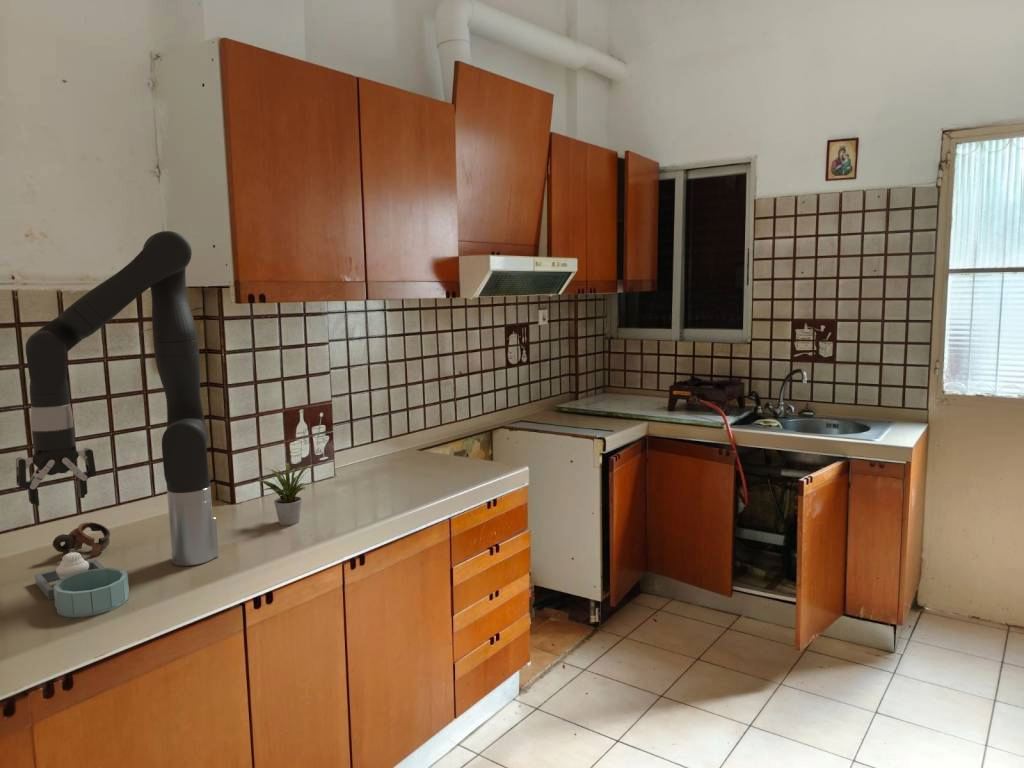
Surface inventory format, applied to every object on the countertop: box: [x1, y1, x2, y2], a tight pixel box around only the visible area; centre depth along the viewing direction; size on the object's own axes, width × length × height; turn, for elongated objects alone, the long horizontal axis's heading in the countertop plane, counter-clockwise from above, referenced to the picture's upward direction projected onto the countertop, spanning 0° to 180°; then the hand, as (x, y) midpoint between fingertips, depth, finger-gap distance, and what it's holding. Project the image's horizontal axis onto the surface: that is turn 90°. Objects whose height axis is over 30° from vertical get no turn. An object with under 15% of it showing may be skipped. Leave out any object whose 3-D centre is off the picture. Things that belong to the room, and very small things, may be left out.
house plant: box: [258, 462, 314, 526], centre depth 201 cm, size 14×14×16 cm
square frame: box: [34, 559, 105, 601], centre depth 161 cm, size 12×12×2 cm
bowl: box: [52, 567, 130, 619], centre depth 150 cm, size 13×13×5 cm
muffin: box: [55, 551, 89, 580], centre depth 160 cm, size 6×6×7 cm
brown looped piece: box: [52, 521, 111, 558], centre depth 178 cm, size 12×10×8 cm
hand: (59, 501), depth 158 cm, fingers open, 8 cm apart
